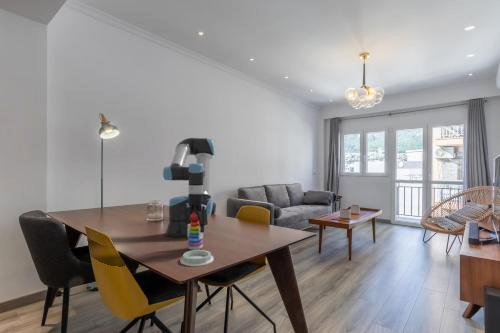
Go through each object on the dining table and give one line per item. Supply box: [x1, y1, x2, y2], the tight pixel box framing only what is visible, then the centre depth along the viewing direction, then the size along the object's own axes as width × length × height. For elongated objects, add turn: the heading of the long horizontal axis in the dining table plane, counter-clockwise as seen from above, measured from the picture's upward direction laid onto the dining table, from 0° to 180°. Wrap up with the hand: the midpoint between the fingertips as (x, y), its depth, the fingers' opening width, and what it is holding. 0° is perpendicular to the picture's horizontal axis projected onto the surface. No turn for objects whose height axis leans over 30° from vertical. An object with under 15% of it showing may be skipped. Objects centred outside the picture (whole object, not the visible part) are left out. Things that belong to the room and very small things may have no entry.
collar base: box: [179, 249, 215, 267], centre depth 121 cm, size 15×15×3 cm
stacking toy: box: [186, 212, 204, 251], centre depth 137 cm, size 8×8×19 cm
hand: (195, 237), depth 137 cm, fingers closed on stacking toy, 7 cm apart
